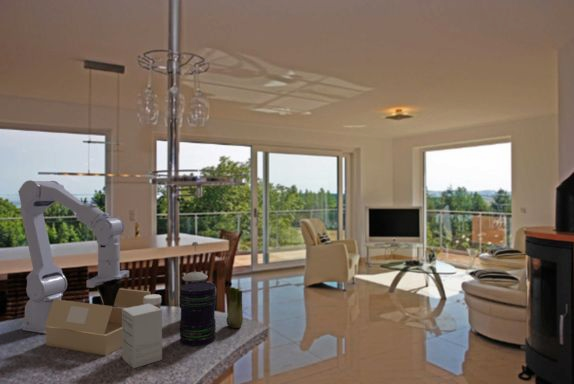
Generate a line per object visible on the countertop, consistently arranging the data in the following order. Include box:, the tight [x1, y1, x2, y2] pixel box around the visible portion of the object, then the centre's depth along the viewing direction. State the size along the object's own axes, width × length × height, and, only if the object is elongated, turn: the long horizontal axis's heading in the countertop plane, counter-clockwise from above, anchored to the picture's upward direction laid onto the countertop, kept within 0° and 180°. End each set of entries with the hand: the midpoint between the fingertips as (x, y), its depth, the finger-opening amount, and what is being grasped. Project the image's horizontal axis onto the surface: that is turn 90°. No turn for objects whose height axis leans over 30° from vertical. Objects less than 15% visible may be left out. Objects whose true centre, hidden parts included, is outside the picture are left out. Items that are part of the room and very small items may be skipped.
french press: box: [178, 241, 217, 323], centre depth 132 cm, size 10×12×25 cm
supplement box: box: [121, 304, 163, 369], centre depth 101 cm, size 7×7×13 cm
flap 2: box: [97, 287, 152, 309], centre depth 125 cm, size 19×7×1 cm
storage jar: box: [178, 281, 217, 348], centre depth 115 cm, size 10×10×15 cm
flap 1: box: [45, 299, 114, 335], centre depth 108 cm, size 19×7×1 cm
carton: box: [45, 307, 123, 356], centre depth 116 cm, size 20×20×5 cm
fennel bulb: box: [226, 286, 244, 329], centre depth 125 cm, size 6×5×12 cm
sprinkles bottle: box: [143, 293, 162, 309], centre depth 110 cm, size 5×5×14 cm
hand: (109, 307), depth 118 cm, fingers closed
